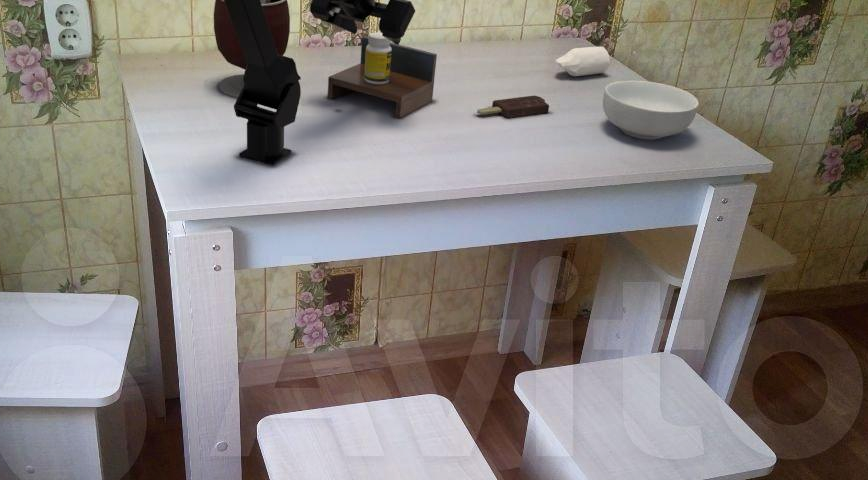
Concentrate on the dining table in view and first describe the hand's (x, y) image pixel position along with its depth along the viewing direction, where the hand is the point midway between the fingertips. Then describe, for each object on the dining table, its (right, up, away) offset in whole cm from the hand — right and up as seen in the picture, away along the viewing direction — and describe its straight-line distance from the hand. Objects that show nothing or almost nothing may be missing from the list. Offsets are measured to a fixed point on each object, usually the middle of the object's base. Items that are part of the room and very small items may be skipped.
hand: (377, 36), depth 178 cm
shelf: (0, -9, +8) cm, 13 cm away
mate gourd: (-23, -6, +10) cm, 26 cm away
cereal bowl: (+49, -17, +3) cm, 52 cm away
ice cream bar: (+25, -12, +8) cm, 29 cm away
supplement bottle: (0, -7, +5) cm, 9 cm away
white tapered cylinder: (+42, +1, +28) cm, 50 cm away
